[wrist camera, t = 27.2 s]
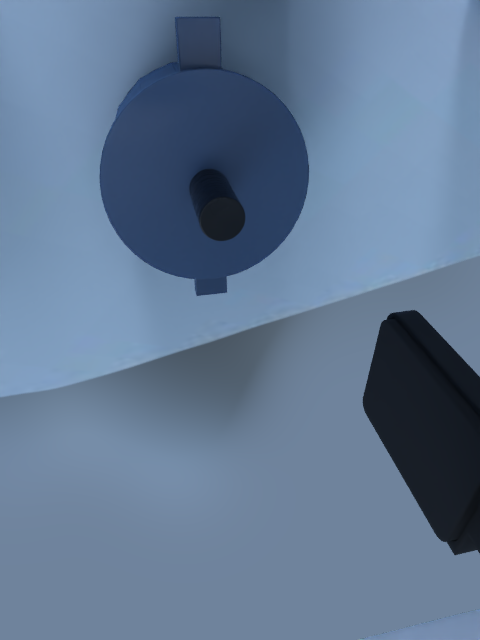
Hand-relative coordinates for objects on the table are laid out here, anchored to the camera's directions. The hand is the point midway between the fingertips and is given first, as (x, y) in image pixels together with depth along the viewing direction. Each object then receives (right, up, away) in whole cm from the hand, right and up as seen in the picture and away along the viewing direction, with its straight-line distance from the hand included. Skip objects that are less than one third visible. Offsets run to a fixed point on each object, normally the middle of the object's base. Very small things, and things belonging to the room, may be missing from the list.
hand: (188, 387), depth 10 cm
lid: (-1, +10, +18) cm, 21 cm away
